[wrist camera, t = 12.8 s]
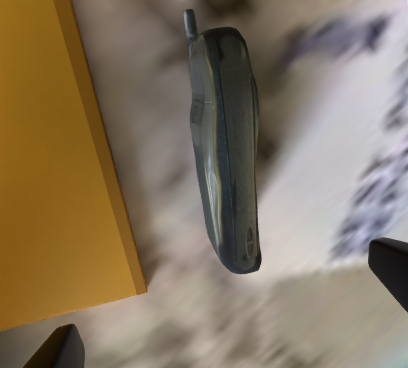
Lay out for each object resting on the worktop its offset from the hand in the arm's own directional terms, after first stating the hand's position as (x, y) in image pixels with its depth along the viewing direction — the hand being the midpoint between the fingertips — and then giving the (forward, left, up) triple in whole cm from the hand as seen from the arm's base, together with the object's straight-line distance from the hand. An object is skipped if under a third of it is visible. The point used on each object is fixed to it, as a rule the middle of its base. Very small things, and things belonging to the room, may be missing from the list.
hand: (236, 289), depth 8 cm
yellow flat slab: (+2, +10, -12) cm, 16 cm away
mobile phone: (+2, -2, -12) cm, 12 cm away
